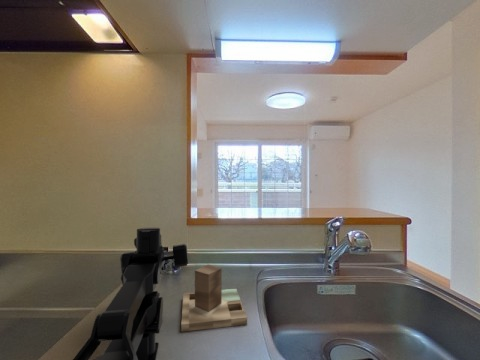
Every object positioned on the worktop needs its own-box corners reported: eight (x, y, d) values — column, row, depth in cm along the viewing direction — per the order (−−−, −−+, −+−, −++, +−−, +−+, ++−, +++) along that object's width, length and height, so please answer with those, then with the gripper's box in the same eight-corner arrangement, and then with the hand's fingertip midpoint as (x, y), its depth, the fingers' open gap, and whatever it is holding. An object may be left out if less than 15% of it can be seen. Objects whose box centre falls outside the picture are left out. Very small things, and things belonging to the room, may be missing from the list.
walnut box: (208, 312, 74) (208, 274, 73) (194, 306, 77) (194, 270, 77) (221, 303, 79) (221, 268, 78) (208, 298, 82) (208, 264, 82)
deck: (247, 324, 71) (247, 317, 71) (181, 331, 68) (181, 324, 68) (236, 294, 89) (236, 288, 89) (183, 299, 85) (183, 293, 85)
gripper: (182, 230, 70) (186, 224, 85) (110, 240, 67) (128, 232, 82) (187, 271, 69) (189, 258, 85) (114, 283, 66) (131, 267, 82)
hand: (160, 253), depth 83 cm, fingers open, 9 cm apart
